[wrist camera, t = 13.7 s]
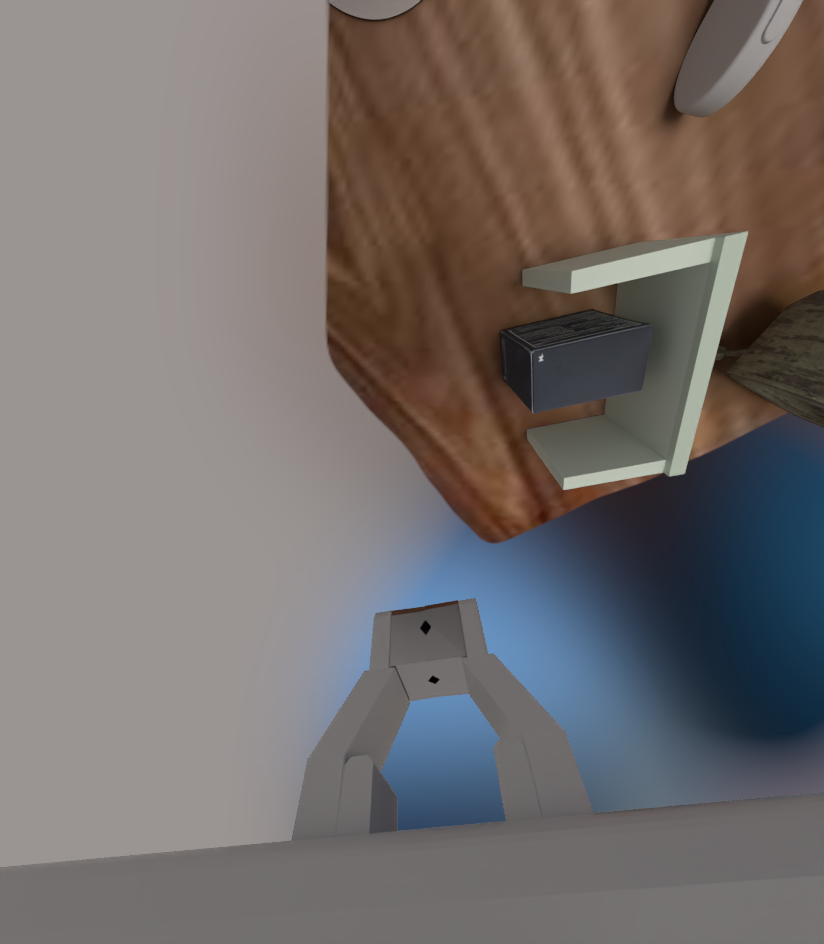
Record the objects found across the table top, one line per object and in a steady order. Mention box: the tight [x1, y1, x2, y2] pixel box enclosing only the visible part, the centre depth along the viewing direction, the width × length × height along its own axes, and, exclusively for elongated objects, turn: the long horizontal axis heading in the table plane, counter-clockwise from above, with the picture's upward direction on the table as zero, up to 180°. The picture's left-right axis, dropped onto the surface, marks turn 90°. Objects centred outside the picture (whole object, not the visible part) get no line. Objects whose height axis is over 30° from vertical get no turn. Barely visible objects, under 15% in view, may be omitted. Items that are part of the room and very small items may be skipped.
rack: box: [522, 231, 748, 490], centre depth 34 cm, size 20×12×13 cm, turn 12°
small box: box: [500, 309, 653, 413], centre depth 35 cm, size 11×6×10 cm, turn 102°
